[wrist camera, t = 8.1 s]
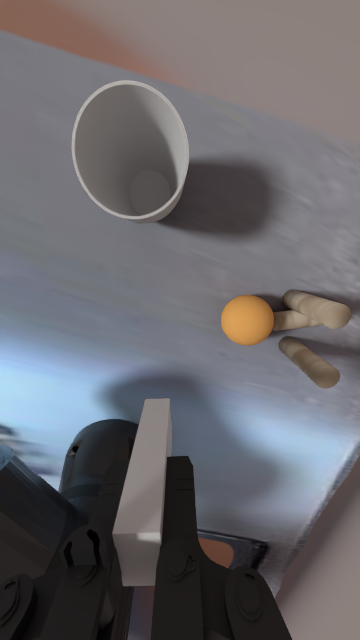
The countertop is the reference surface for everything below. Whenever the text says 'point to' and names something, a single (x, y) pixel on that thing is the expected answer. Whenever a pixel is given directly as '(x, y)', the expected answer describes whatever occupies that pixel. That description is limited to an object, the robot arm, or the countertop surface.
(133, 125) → the cup
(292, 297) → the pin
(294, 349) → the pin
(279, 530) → the countertop surface
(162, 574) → the robot arm
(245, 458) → the countertop surface
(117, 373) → the countertop surface
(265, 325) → the ball
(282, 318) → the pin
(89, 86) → the countertop surface
